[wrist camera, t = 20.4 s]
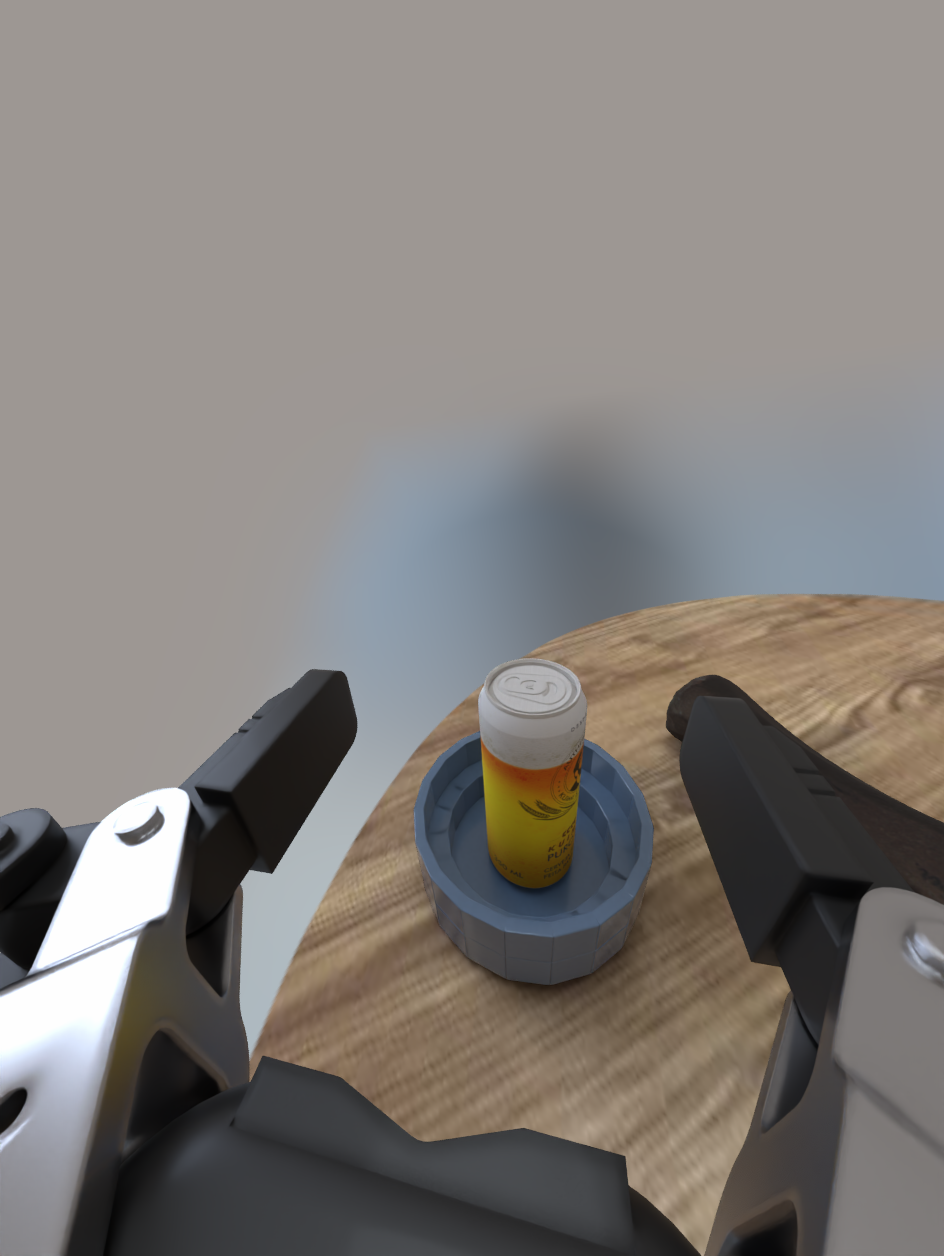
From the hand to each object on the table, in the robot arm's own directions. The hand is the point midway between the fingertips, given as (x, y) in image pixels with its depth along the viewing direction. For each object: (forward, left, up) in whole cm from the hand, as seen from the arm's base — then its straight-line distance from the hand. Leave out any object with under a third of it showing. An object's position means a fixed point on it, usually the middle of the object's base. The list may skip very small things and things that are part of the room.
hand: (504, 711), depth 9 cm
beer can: (-2, +10, -22) cm, 24 cm away
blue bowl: (-3, +10, -22) cm, 25 cm away
